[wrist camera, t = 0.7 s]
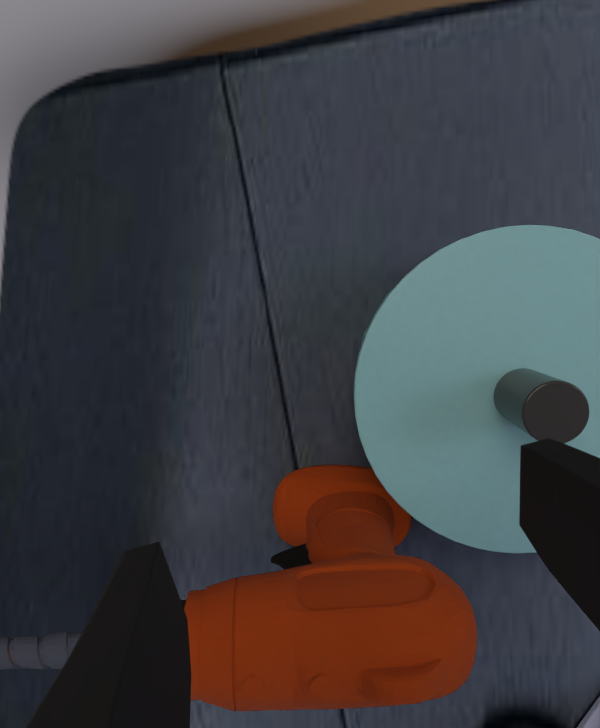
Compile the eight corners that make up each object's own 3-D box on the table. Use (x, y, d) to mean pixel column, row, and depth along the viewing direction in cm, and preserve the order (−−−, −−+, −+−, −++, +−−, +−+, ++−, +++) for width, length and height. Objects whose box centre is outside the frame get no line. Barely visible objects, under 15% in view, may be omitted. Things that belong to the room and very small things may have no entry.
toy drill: (70, 470, 29) (-135, 645, 14) (405, 459, 30) (538, 611, 15) (76, 553, 30) (-116, 806, 15) (404, 539, 31) (532, 761, 16)
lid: (746, 331, 23) (852, 339, 18) (562, 596, 25) (615, 665, 20) (459, 167, 23) (490, 133, 18) (296, 446, 25) (287, 480, 20)
